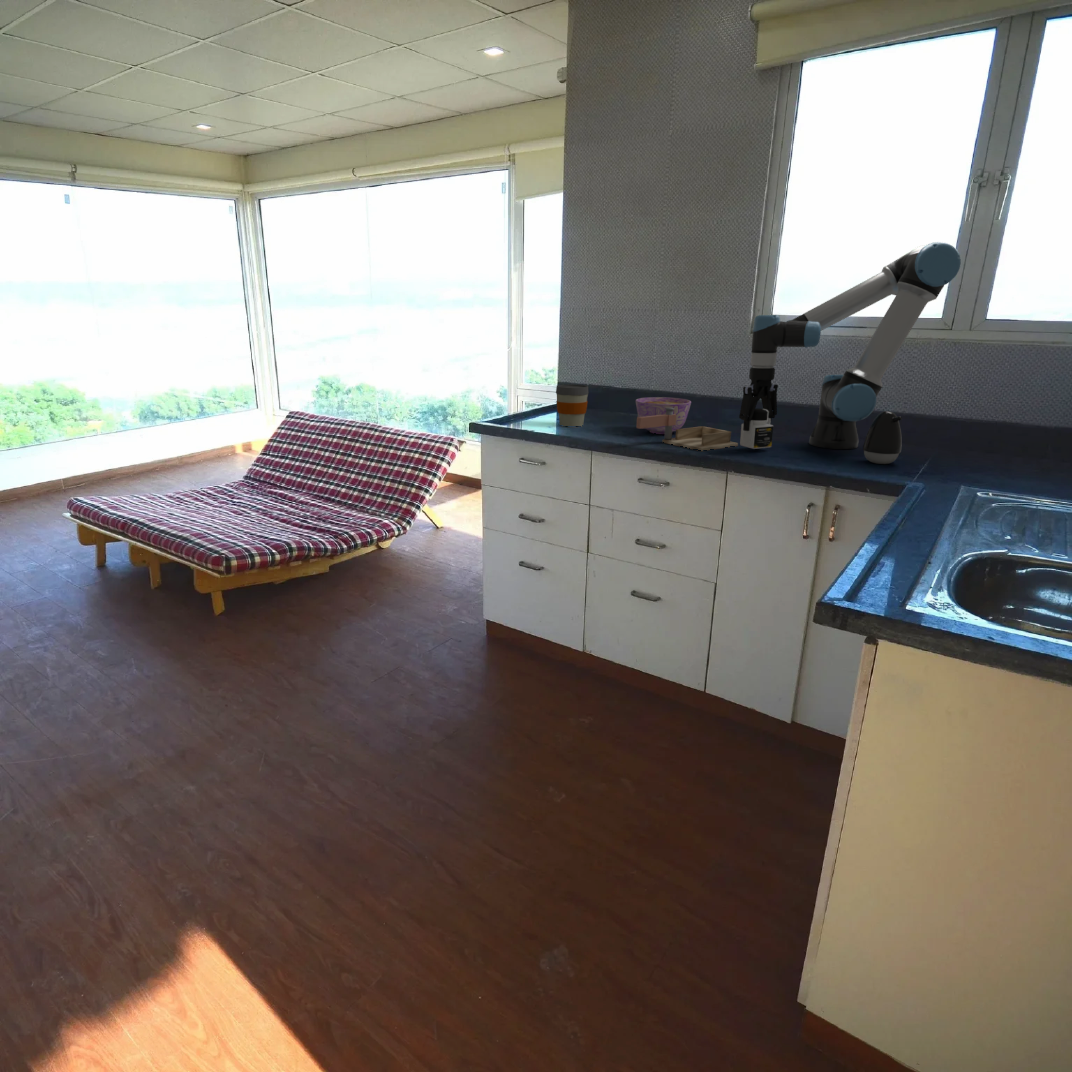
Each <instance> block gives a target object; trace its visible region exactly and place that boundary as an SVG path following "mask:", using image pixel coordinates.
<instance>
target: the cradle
mask: <svg viewBox="0 0 1072 1072" xmlns="http://www.w3.org/2000/svg"><path fill="white" fill-rule="evenodd" d="M731 437H732V431H729V430H724V429H718V428H713V427H709V426H708V427H707V426H703V425H702V426H695V427H693V426H692V427H685V428H683V427H682V428H680V429H676V431H675V437H672V439H670V440H667V439H663V438H662V443H663V442H664V443H663V444H668V445H671V444H673V445H672V446H676V447H680V446H683V447H682V448H685V447H687V448H686V449H689V448H690V450H693V449H698V450H701V451H700V452H704V451H703V450H707V451H711V450H710V449H714V450H720V449H726V448H725V447H728V448H731V447H730V446H735V447H739V442H734V441H731ZM698 450H697V451H698Z"/></svg>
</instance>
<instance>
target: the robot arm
mask: <svg viewBox="0 0 1072 1072" xmlns="http://www.w3.org/2000/svg"><path fill="white" fill-rule="evenodd" d="M961 262H962V260H961V255H960V253H959V251H958V249H957V248H956V247H955V246H953V244H950V243H948V242H943V241H942V242H941V241H935V242H930V243H928V244H926V245H920V246H917V247H915V248H913V249H910V250H909V251H907V252H906V253H905V254H903V255H902V256H900V257H899V258H897V259H895V260H894V261H892V262H890V263H889V264H887V265H885V266H883V268H882V269H881V271H880V272H879V273H877V274H875V275H873V276H871V277H870V278H867V280H864V281H862V282H860V283H858V284H856V285H854V286H852V287H850V288H849V289H847V290H845V291H843V292H841V293H840V294H838V295H836V296H834V297H831V298H830V299H828V300H826V301H824V302H823V303H821V304H819V305H817V306H815V307H813V308H810V310H807V311H806V312H804V313H803V314H800V315H799V316H797V317H795V318H793V319H791V320H790V319H789V320H787V321H783V320H782V321H781V317H780V315H778V314H775V315H774V314H771V315H770V314H759V315H757V316H755V317H754V322H753V329H752V338H751V339H752V340H751V354H750V355H751V356H750V366H752V367H750V368H749V376H748V378H749V380H750V381H751V382H750V384H749V386H743V388H742V390H743V391H742V392H743V395H742V399H741V400H742V401H741V405H740V410H739V415H738V418H739V419H740V420H742V421H743V423H744V426H743V430H744V435H743V440H744V441H749V442H751V439H752V427H753V421H751V419H752V416H753V413H754V411H755V408H756V407H757V405H758V403H759V401H760V400H761V404H762V409H766V410H768V422H766V424H770V425H772V419H775V417H776V416H777V415H778V398H777V396H778V388H779V387H778V384H774V383H772V381H773V380H774V379H775V376H776V375H775V373H776V368H775V366H776V365H777V352H778V351H777V350H778V348H806V349H807V348H815V347H817V346H818V345H819V344H820V343H819V342H820V339H821V333H822V332H821V331H824V330H825V329H829V327H831V326H833V325H835V324H837V323H839V322H841V321H842V320H845V319H847V318H849V317H851V316H852V315H854V314H857V313H858V312H860V311H862V310H864V309H866V308H868V307H870V306H872V305H874V304H876V303H877V302H879V301H882V300H884V299H885V298H887V297H889V296H891V295H892V296H895V297H894V299H893V300H892V302H891V304H890V305H889V307H888V308H887V310H886V312H885V314H884V315H883V318H882V319H881V320H880V323H879V324H878V326H877V327H876V329H875V331H874V332H873V334H872V336H871V338H870V339H869V341H868V342H867V344H866V346H865V347H864V349H863V351H862V353H861V354H860V356H859V358H858V359H857V361H856V363H855V365H854V366H853V367H851V368H849V369H846V370H845V371H844V372H843V373H844V374H827V375H825V376H824V378H823V380H822V383H821V392H820V394H821V395H820V401H819V408H818V409H819V410H818V416H817V421H816V423H815V426H814V428H813V429H812V431H811V434H810V436H809V441H808V443H809V445H811V446H814V447H817V448H824V449H833V450H850V449H851V450H852V449H857V448H858V447H859V441H860V440H859V435H858V431H857V430H858V429H857V426H856V425H857V424H856V422H859V421H862V420H865V419H867V418H868V417H869V416H870V415H871V414H872V413H873V411H874V410H875V407H876V405H877V396H878V395H879V393H880V391H881V390H882V388H883V382H882V378H883V376H884V375H885V373H886V371H887V370H888V368H889V367H890V365H891V363H892V362H893V360H894V358H895V357H896V355H897V353H898V352H899V350H900V348H901V347H902V345H903V344H904V342H905V340H906V338H907V337H908V335H909V334H910V333H911V330H912V328H913V327H914V325H915V324H916V322H917V320H918V319H919V317H920V316H921V314H922V313H923V311H924V309H925V307H926V306H927V304H929V302H932V301H934V300H937V298H938V297H939V295H940V293H941V292H942V290H943V288H944V287H945V285H947V284H949V283H951V281H952V280H954V278H956V276H957V275H958V273H959V271H960V268H961ZM748 416H749V417H748Z"/></svg>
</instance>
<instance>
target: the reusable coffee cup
mask: <svg viewBox="0 0 1072 1072" xmlns="http://www.w3.org/2000/svg"><path fill="white" fill-rule="evenodd" d="M555 387H556V389H555V394H556V408H557V410H556V411H557V413H558V417H559V419H558V420H559V426H560V425H563V426H581V427H583V426H584V420H585V416H586V415H585V414H586V413H587V409H588V402H589V401H588V396H589V394H590V393H589V386H588V385H585V384H573V383H572V384H568V383H567V384H557V385H556V386H555ZM582 425H583V426H582ZM563 426H562V427H563Z"/></svg>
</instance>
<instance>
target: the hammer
mask: <svg viewBox="0 0 1072 1072" xmlns="http://www.w3.org/2000/svg"><path fill="white" fill-rule="evenodd" d="M673 410H674V408H666V414H663V415H654V416H644V417H638V416H637V417H636V429H641V430H642V429H645V428H651V427H659V426H665V434H664V437H663V438H664V439H667V440H670V439H672V438H673V437H672V436H673V433H672V425H676V414H673Z"/></svg>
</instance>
